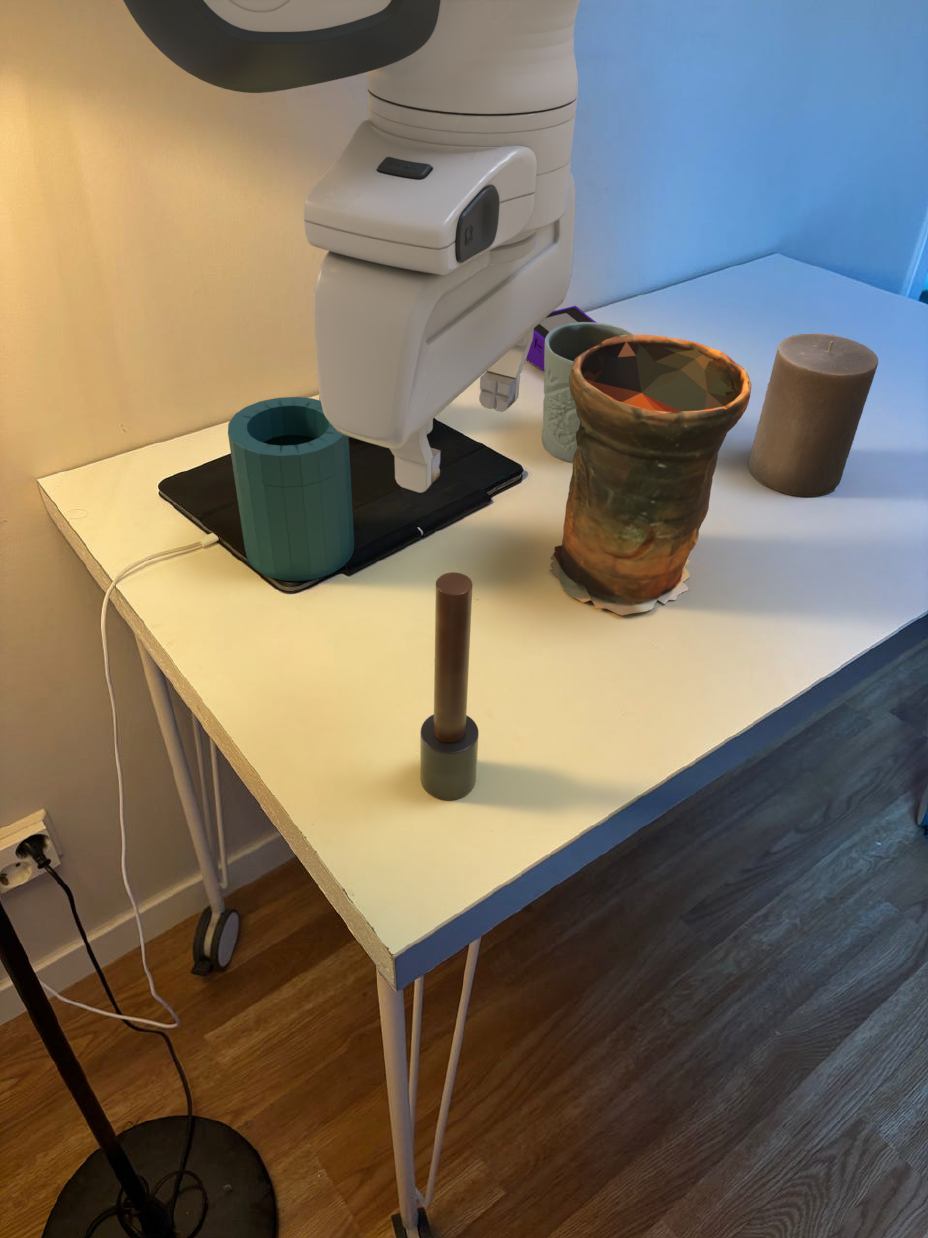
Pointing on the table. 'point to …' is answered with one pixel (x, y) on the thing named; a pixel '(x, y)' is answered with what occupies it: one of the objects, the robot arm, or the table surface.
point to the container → (292, 488)
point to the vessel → (643, 466)
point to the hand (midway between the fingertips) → (460, 441)
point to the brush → (450, 697)
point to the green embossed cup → (566, 382)
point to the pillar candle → (811, 413)
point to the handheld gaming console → (549, 324)
